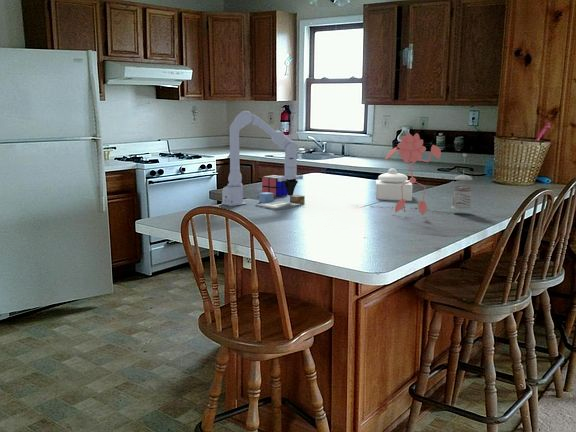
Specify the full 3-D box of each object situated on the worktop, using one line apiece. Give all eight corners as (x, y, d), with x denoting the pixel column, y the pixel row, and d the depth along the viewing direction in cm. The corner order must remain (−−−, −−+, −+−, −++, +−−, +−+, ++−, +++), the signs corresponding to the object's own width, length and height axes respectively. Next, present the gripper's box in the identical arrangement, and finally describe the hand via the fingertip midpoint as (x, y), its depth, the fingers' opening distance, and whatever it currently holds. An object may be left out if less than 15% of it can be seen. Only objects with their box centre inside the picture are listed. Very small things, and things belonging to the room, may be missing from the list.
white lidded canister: (409, 196, 301) (410, 166, 298) (412, 202, 284) (413, 170, 281) (375, 196, 304) (376, 166, 301) (375, 201, 286) (376, 169, 283)
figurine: (388, 209, 263) (390, 131, 257) (443, 215, 249) (447, 133, 242) (372, 214, 251) (374, 133, 245) (429, 221, 236) (433, 134, 230)
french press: (473, 210, 262) (477, 154, 257) (447, 209, 264) (450, 154, 259) (471, 206, 271) (474, 153, 267) (446, 205, 274) (448, 152, 269)
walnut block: (296, 205, 276) (296, 197, 275) (289, 204, 279) (289, 195, 279) (304, 204, 279) (304, 196, 278) (298, 202, 282) (298, 194, 282)
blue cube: (265, 204, 277) (265, 194, 277) (259, 203, 281) (259, 193, 280) (273, 203, 281) (273, 193, 280) (267, 202, 284) (267, 192, 284)
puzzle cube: (276, 197, 300) (276, 178, 298) (261, 195, 306) (261, 176, 304) (288, 195, 307) (288, 176, 306) (273, 193, 313) (273, 174, 312)
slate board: (275, 210, 261) (274, 208, 261) (255, 206, 271) (255, 204, 271) (300, 206, 272) (300, 204, 272) (281, 202, 282) (281, 200, 282)
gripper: (284, 168, 266) (284, 197, 268) (307, 166, 275) (307, 194, 278) (274, 167, 271) (274, 196, 273) (297, 165, 280) (297, 193, 283)
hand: (290, 195), depth 276 cm, fingers closed
